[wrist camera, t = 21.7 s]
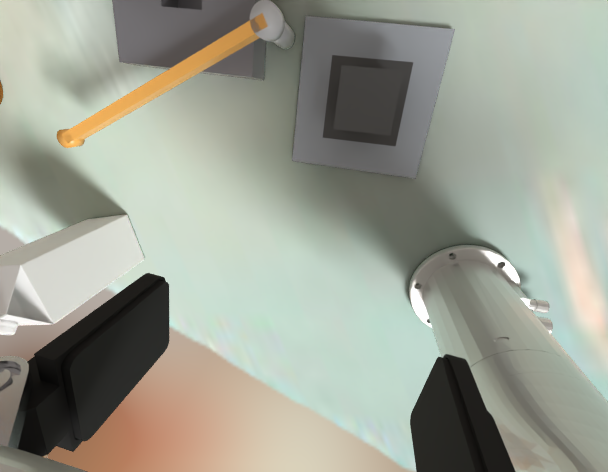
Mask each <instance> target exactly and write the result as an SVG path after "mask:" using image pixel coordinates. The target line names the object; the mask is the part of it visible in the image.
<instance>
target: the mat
mask: <svg viewBox="0 0 608 472" xmlns="http://www.w3.org/2000/svg"><path fill="white" fill-rule="evenodd" d="M454 31H455V29H447V28H436V27H425V26H414V25H403V24H392V23H381V22H370V21H359V20H348V19H337V18H326V17H315V16H306V18H305V29H304V40H303V50H302V61H301V72H300V82H299V93H298V104H297V114H296V125H295V136H294V147H293V157H292V161H296V162H303V163H310V164H317V165H324V166H331V167H338V168H345V169H352V170H359V171H366V172H372V173H379V174H386V175H393V176H400V177H407V178H414V179H416V175H417V171H418V167H419V164H420V160H421V156H422V152H423V148H424V145H425V141H426V137H427V133H428V129H429V126H430V122H431V118H432V114H433V110H434V107H435V103H436V99H437V95H438V91H439V88H440V84H441V80H442V76H443V72H444V69H445V65H446V61H447V57H448V53H449V50H450V46H451V42H452V38H453V34H454ZM332 55H338V56H349V57H360V58H371V59H383V60H394V61H405V62H413V67H412V72H411V76H410V81H409V86H408V90H407V95H406V100H405V104H404V109H403V114H402V119H401V123H400V128H399V133H398V137H397V142H396V146H388V145H380V144H371V143H363V142H355V141H346V140H338V139H330V138H323V130H324V121H325V113H326V104H327V96H328V87H329V79H330V70H331V62H332Z"/></svg>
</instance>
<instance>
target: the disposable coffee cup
mask: <svg viewBox="0 0 608 472" xmlns="http://www.w3.org/2000/svg"><path fill="white" fill-rule="evenodd" d="M2 98H3V89H2V85H1V82H0V104H1V102H2Z"/></svg>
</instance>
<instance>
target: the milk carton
mask: <svg viewBox="0 0 608 472" xmlns="http://www.w3.org/2000/svg"><path fill="white" fill-rule="evenodd" d="M143 260H145V258H144V256H143V253H142V250H141V248H140V245H139V243H138V240H137V238H136V235H135V233H134V230H133V228H132V225H131V223H130V220H129V218H128V215H117V216H109V217H101V218H93V219H87V220H84V221H82V222H79V223H77V224H74V225H72V226H70V227H67V228H65V229H62V230H60V231H58V232H55V233H53V234H50V235H48V236H46V237H43V238H41V239H38V240H36V241H34V242H31V243H29V244H26V245H24V246H22V247H19V248H17V249H14V250H12V251H10V252H7V253H5V254H3V255H0V334H1V335H13V334H15V332H16V329H17V327H18V325H44V324H55V323H56V322H58V321H59V320H61V319H62V318H64V317H65V316H66V315H68V314H69V313H71V312H72V311H73V310H75V309H76V308H78V307H79V306H80V305H82V304H83V303H85V302H86V301H87V300H89V299H90V298H92V297H93V296H94V295H96V294H97V293H98V292H100V291H101V290H103V289H104V288H106V287H107V286H108V285H110V284H111V283H113V282H114V281H115V280H117V279H118V278H120V277H121V276H122V275H124V274H125V273H127V272H128V271H129V270H131V269H132V268H134V267H135V266H136V265H138V264H139V263H141V262H142V261H143Z"/></svg>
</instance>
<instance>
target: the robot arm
mask: <svg viewBox="0 0 608 472" xmlns="http://www.w3.org/2000/svg"><path fill="white" fill-rule="evenodd" d="M451 253H452V254H451ZM449 254H451V255H449ZM416 283H418V284H416ZM409 297H410V301H411V305H412V308H413V310H414V312H415V314H416V315H417V316H418V317H419V319H420V320H421V321H423V322H424V323H425V324H426V325H428V326H429V327H431V328H432V330H433V333H434V336H435V339H436V342H437V345H438V348H439V351H440V354H441V357H438V358H437V360H436V362H435V364H434V366H433V368H432V370H431V372H430V375H429V377H428V379H427V381H426V383H425V385H424V387H423V389H422V392H421V394H420V396H419V398H418V400H417V402H416V404H415V407H414V409H413V411H412V413H411V419H410V425H411V433H412V440H413V448H414V455H415V462H416V470H417V472H608V401H607V400H606V399H605V398H604V397H603V396H602V394H601V393H600V392H599V391H598V390H597V388H596V387H595V386H594V385H593V384H592V382H591V381H590V380H589V379H588V378H587V377H586V375H585V374H584V373H583V372H582V371H581V369H580V368H579V367H578V366H577V365H576V363H575V362H574V361H573V360H572V359H571V357H570V356H569V355H568V354H567V353H566V351H565V350H564V349H563V348H562V347H561V345H560V344H559V343H558V342H557V341H556V339H555V338H554V337H553V336H552V335H551V332H552V329H553V325H552V322H551V320H550V319H548V318H543V317H538V316H536V315H535V314H534V313H533V312H532V311H536V312H541V313H547V312H548V311H549V303H548V302H547V301H543V300H537V299H528V298H527V297H526V295H525V294H524V293H523V292H522V291H521V283H520V278H519V275H518V273H517V271H516V269H515V268H514V267H513V266H512V264H511V263H510V262H509V261H508V260H507V259H506V258H505V257H504V256H502V255H501V254H499V253H498V252H496V251H494V250H492V249H489V248H486V247H482V246H476V245H459V246H453V247H449V248H446V249H443V250H440V251H438V252H436V253H434V254H432V255H431V256H430V257H428V258H427V259H426V260H424V261H423V262H422V263H421V264H420V265H419V266H418V268H417V269H416V271H415V272H414V274H413V276H412V278H411V281H410V286H409ZM531 310H532V311H531ZM168 343H169V284H168V283H167V282H166V281H165V278H164V277H161V276H157V275H154V274H150V273H146V274H144V275H143V276H142V277H140V278H139V279H137V280H136V281H135V282H133V283H132V284H131V285H129V286H128V287H126V288H125V289H124V290H122V291H121V292H119V293H118V294H117V295H115V296H114V297H113V298H111V299H110V300H108V301H107V302H106V303H104V304H103V305H101V306H100V307H99V308H97V309H96V310H94V311H93V312H92V313H90V314H89V315H88V316H86V317H85V318H83V319H82V320H81V321H79V322H78V323H76V324H75V325H74V326H72V327H71V328H70V329H68V330H67V331H66V332H64V333H63V334H61V335H60V336H58V337H57V338H56V339H54V340H53V341H52V342H50V343H49V344H47V345H46V346H45V347H43V348H42V349H40V350H39V351H38V352H36V353H35V354H34V355H35V357H33V358H32V359H31V360H29V361H28V362H26V360H24V359H22V358H20V357H14V356H7V357H0V472H87V471H84V470H81V469H78V468H75V467H72V466H69V465H66V464H63V463H59V462H57V461H54V460H50V459H47V456H48V454H49V453H50V452H51V451H52V449H53V448H54V447H55V446H58V447H61V448H64V449H66V450H69V451H72V452H73V451H74V450H75V449H76V448H77V447H78V446H79V444H80V443H81V442H82V441H87V440H88V439H90V438H91V437H92V436H93V435H94V434H95V432H96V431H97V430H98V429H99V428H100V427H101V425H102V424H103V423H104V422H105V421H106V420H107V418H108V417H109V416H110V415H111V414H112V413H113V411H114V410H115V409H116V408H117V407H118V405H119V404H120V403H121V402H122V401H123V400H124V398H125V397H126V396H127V395H128V394H129V393H130V391H131V390H132V389H133V388H134V387H135V385H136V384H137V383H138V382H139V381H140V380H141V379H142V377H143V376H144V375H145V374H146V373H147V372H148V370H149V369H150V368H151V367H152V366H153V365H154V363H155V362H156V361H157V360H158V358H159V357H160V356H161V355H162V354H163V353H164V352H165V350H166V349H167V346H168Z"/></svg>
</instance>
